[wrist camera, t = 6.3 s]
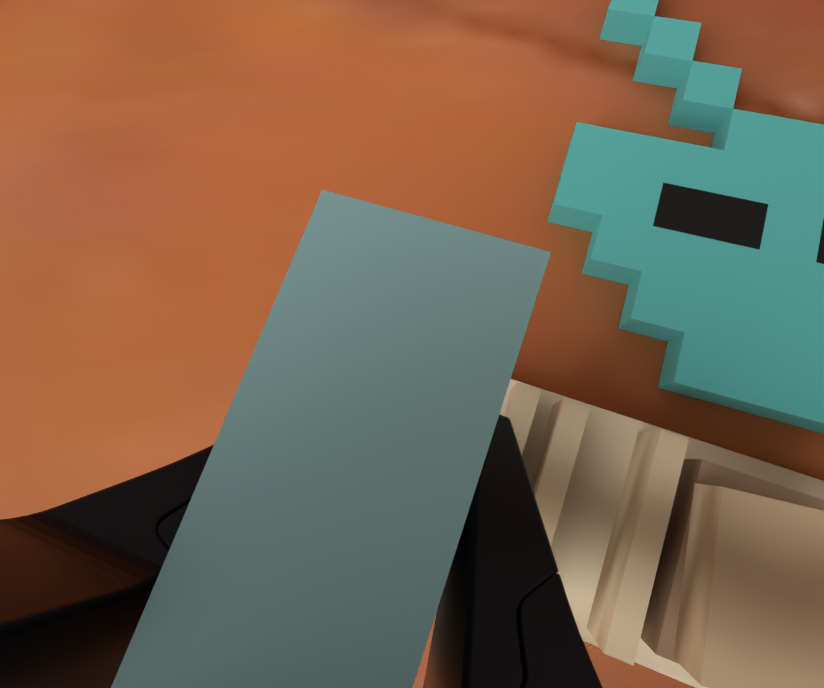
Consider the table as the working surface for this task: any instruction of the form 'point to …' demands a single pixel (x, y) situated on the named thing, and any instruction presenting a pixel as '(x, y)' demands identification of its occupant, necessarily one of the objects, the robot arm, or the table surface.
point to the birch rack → (613, 508)
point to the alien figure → (708, 230)
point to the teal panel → (343, 460)
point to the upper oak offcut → (752, 592)
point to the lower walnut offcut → (672, 559)
